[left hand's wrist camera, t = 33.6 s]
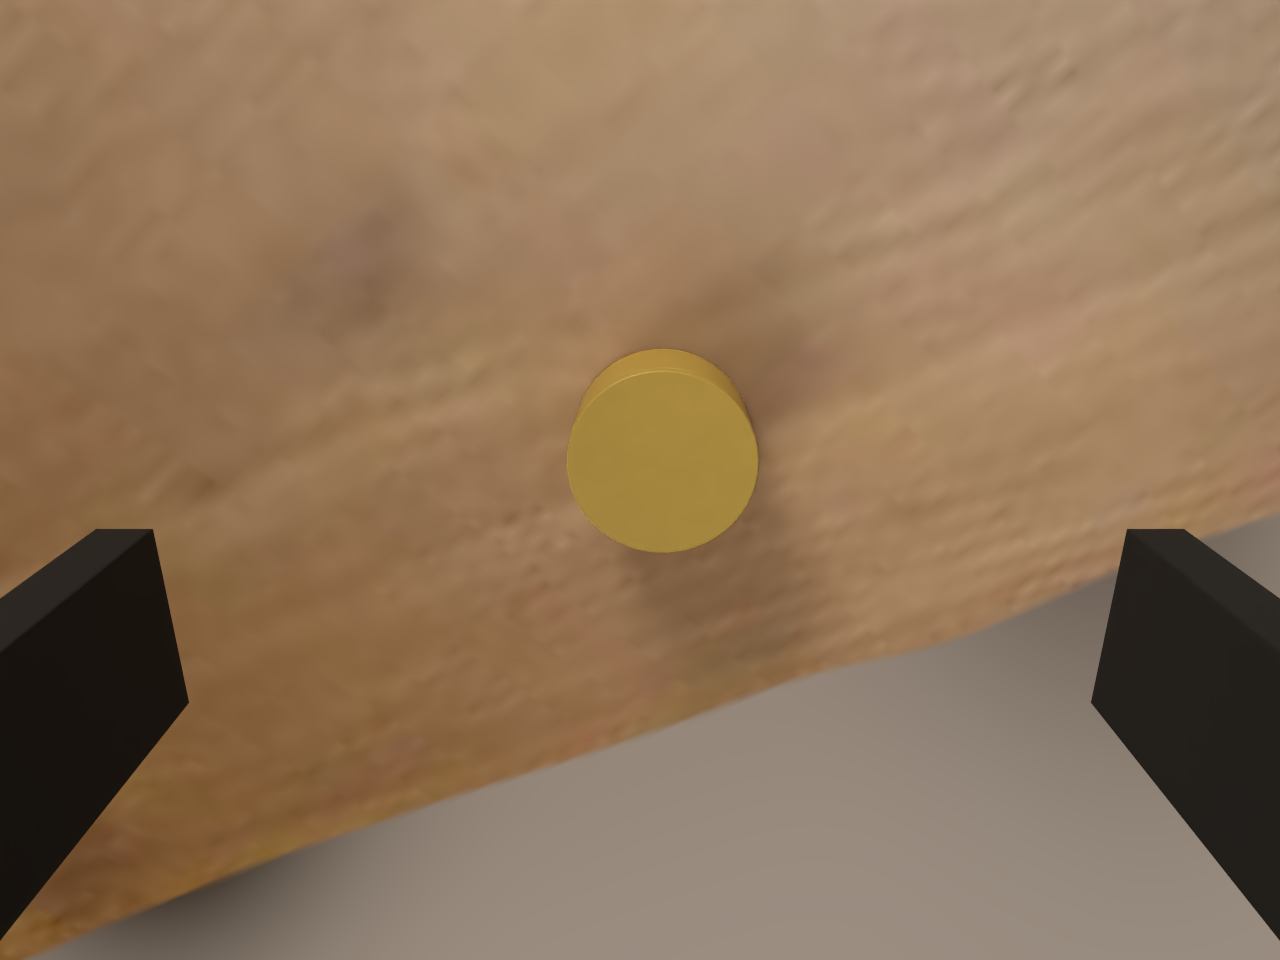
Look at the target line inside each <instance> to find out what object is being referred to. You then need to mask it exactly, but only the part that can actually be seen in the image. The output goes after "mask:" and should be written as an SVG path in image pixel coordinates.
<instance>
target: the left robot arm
mask: <svg viewBox="0 0 1280 960" xmlns="http://www.w3.org/2000/svg"><path fill="white" fill-rule="evenodd" d="M188 703H189V700H188V696H187V691H186V686H185V681H184V676H183V672H182V667H181V662H180V657H179V652H178V648H177V643H176V638H175V633H174V628H173V623H172V619H171V614H170V609H169V604H168V599H167V595H166V590H165V585H164V580H163V575H162V571H161V566H160V561H159V556H158V551H157V546H156V542H155V537H154V532H153V529H95V530H94V531H93V532H91V533H90V534H89V535H87V536H86V537H84V538H83V539H82V540H80V541H79V542H78V543H76V544H75V545H73V546H72V547H71V548H69V549H68V550H67V551H65V552H64V553H62V554H61V555H60V556H58V557H57V558H56V559H54V560H53V561H51V562H50V563H49V564H47V565H46V566H45V567H43V568H42V569H40V570H39V571H38V572H36V573H35V574H33V575H32V576H31V577H29V578H28V579H27V580H25V581H24V582H22V583H21V584H20V585H18V586H17V587H16V588H14V589H13V590H11V591H10V592H9V593H7V594H6V595H5V596H3V597H2V598H0V940H1V939H2V938H3V936H4V935H5V934H6V933H7V931H8V930H9V929H10V927H11V926H12V925H13V924H14V922H15V921H16V920H17V919H18V917H19V916H20V915H21V914H22V912H23V911H24V910H25V909H26V907H27V906H28V905H29V904H30V902H31V901H32V900H33V898H34V897H35V896H36V895H37V893H38V892H39V891H40V890H41V888H42V887H43V886H44V885H45V883H46V882H47V881H48V880H49V878H50V877H51V876H52V875H53V873H54V872H55V871H56V870H57V868H58V867H59V866H60V864H61V863H62V862H63V861H64V859H65V858H66V857H67V856H68V854H69V853H70V852H71V851H72V849H73V848H74V847H75V846H76V844H77V843H78V842H79V841H80V839H81V838H82V837H83V835H84V834H85V833H86V832H87V830H88V829H89V828H90V827H91V825H92V824H93V823H94V822H95V820H96V819H97V818H98V817H99V815H100V814H101V813H102V812H103V810H104V809H105V808H106V807H107V805H108V804H109V803H110V801H111V800H112V799H113V798H114V796H115V795H116V794H117V793H118V791H119V790H120V789H121V788H122V786H123V785H124V784H125V783H126V781H127V780H128V779H129V778H130V776H131V775H132V774H133V772H134V771H135V770H136V769H137V767H138V766H139V765H140V764H141V762H142V761H143V760H144V759H145V757H146V756H147V755H148V754H149V752H150V751H151V750H152V749H153V747H154V746H155V745H156V743H157V742H158V741H159V740H160V738H161V737H162V736H163V735H164V733H165V732H166V731H167V730H168V728H169V727H170V726H171V725H172V723H173V722H174V721H175V720H176V718H177V717H178V716H179V715H180V713H181V712H182V711H183V709H184V708H185V707H186V706H187V704H188ZM1091 703H1092V704H1093V706H1094V707H1095V708H1096V709H1097V711H1098V712H1099V713H1100V714H1101V716H1102V717H1103V718H1104V719H1105V721H1106V722H1107V723H1108V725H1109V726H1110V727H1111V728H1112V730H1113V731H1114V732H1115V733H1116V735H1117V736H1118V737H1119V738H1120V740H1121V741H1122V742H1123V743H1124V745H1125V746H1126V747H1127V749H1128V750H1129V751H1130V752H1131V754H1132V755H1133V756H1134V757H1135V759H1136V760H1137V761H1138V762H1139V764H1140V765H1141V766H1142V767H1143V769H1144V770H1145V771H1146V772H1147V774H1148V775H1149V776H1150V778H1151V779H1152V780H1153V781H1154V783H1155V784H1156V785H1157V786H1158V788H1159V789H1160V790H1161V791H1162V793H1163V794H1164V795H1165V796H1166V798H1167V799H1168V800H1169V801H1170V803H1171V804H1172V805H1173V806H1174V808H1175V809H1176V810H1177V812H1178V813H1179V814H1180V815H1181V817H1182V818H1183V819H1184V820H1185V822H1186V823H1187V824H1188V825H1189V827H1190V828H1191V829H1192V830H1193V832H1194V833H1195V834H1196V835H1197V837H1198V838H1199V839H1200V841H1201V842H1202V843H1203V844H1204V846H1205V847H1206V848H1207V849H1208V850H1209V852H1210V853H1211V854H1212V856H1213V857H1214V858H1215V859H1216V861H1217V862H1218V863H1219V864H1220V866H1221V867H1222V868H1223V869H1224V871H1225V872H1226V873H1227V875H1228V876H1229V877H1230V878H1231V880H1232V881H1233V882H1234V883H1235V885H1236V886H1237V887H1238V888H1239V890H1240V891H1241V892H1242V893H1243V895H1244V896H1245V897H1246V899H1247V900H1248V901H1249V902H1250V904H1251V905H1252V906H1253V907H1254V908H1255V910H1256V911H1257V912H1258V914H1259V915H1260V916H1261V917H1262V919H1263V920H1264V921H1265V922H1266V924H1267V925H1268V926H1269V927H1270V929H1271V930H1272V931H1273V933H1274V934H1275V935H1276V936H1277V938H1278V939H1279V940H1280V598H1278V597H1277V596H1275V595H1274V594H1273V593H1271V592H1270V591H1269V590H1267V589H1266V588H1264V587H1263V586H1262V585H1260V584H1259V583H1258V582H1256V581H1255V580H1253V579H1252V578H1251V577H1249V576H1248V575H1247V574H1245V573H1244V572H1242V571H1241V570H1240V569H1238V568H1237V567H1235V566H1234V565H1233V564H1231V563H1230V562H1229V561H1227V560H1226V559H1224V558H1223V557H1222V556H1220V555H1219V554H1217V553H1216V552H1215V551H1213V550H1212V549H1211V548H1209V547H1208V546H1207V545H1205V544H1204V543H1202V542H1201V541H1200V540H1198V539H1197V538H1196V537H1194V536H1193V535H1191V534H1190V533H1189V532H1187V531H1186V530H1185V529H1127V532H1126V537H1125V542H1124V546H1123V551H1122V556H1121V561H1120V566H1119V571H1118V575H1117V580H1116V585H1115V590H1114V595H1113V600H1112V604H1111V609H1110V614H1109V619H1108V623H1107V628H1106V633H1105V638H1104V643H1103V648H1102V652H1101V657H1100V662H1099V667H1098V672H1097V676H1096V681H1095V686H1094V691H1093V696H1092V700H1091Z"/></svg>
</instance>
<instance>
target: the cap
mask: <svg viewBox="0 0 1280 960" xmlns="http://www.w3.org/2000/svg"><path fill="white" fill-rule="evenodd" d="M566 462H567V475H568V480H569V485H570V487H571V490H572V493H573V496H574V498H575V500H576V502H577V504H578V506H579V507H580V509H581V510H582V512H583V513H584V515H585V516H586V517H587V518H588V520H589V521H590V522H591V523H592V524H593V525H594V526H595V527H596V528H597V529H599V530H600V531H601V532H602V533H603V534H605V535H606V536H608V537H609V538H611V539H612V540H614V541H616V542H618V543H620V544H622V545H625V546H628V547H631V548H633V549H637V550H642V551H646V552H655V553H671V552H678V551H684V550H688V549H692V548H695V547H697V546H700V545H703V544H705V543H707V542H709V541H711V540H712V539H714V538H716V537H717V536H719V535H720V534H722V533H723V532H724V531H726V530H727V529H728V528H729V527H730V526H731V525H732V524H733V523H734V522H735V521H736V520H737V519H738V518H739V516H740V515H741V514H742V513H743V511H744V509H745V508H746V506H747V505H748V503H749V501H750V499H751V496H752V494H753V492H754V489H755V485H756V482H757V477H758V471H759V453H758V445H757V441H756V437H755V433H754V431H753V428H752V425H751V422H750V419H749V416H748V413H747V410H746V408H745V405H744V402H743V400H742V398H741V395H740V394H739V392H738V390H737V389H736V387H735V385H734V384H733V383H732V382H731V380H730V379H729V378H728V377H727V376H726V375H725V374H724V373H723V372H722V371H721V370H720V369H719V368H717V367H716V366H715V365H713V364H712V363H711V362H709V361H707V360H705V359H703V358H701V357H699V356H697V355H694V354H692V353H689V352H685V351H681V350H674V349H651V350H644V351H640V352H637V353H633V354H630V355H628V356H626V357H624V358H621V359H620V360H618V361H616V362H615V363H613V364H611V365H610V366H609V367H608V368H606V369H605V370H604V371H603V372H602V373H601V374H600V375H599V376H598V377H597V378H596V379H595V380H594V381H593V383H592V384H591V385H590V387H589V388H588V390H587V392H586V393H585V395H584V397H583V399H582V402H581V405H580V407H579V410H578V413H577V416H576V420H575V423H574V426H573V429H572V432H571V435H570V439H569V444H568V448H567V460H566Z"/></svg>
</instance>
